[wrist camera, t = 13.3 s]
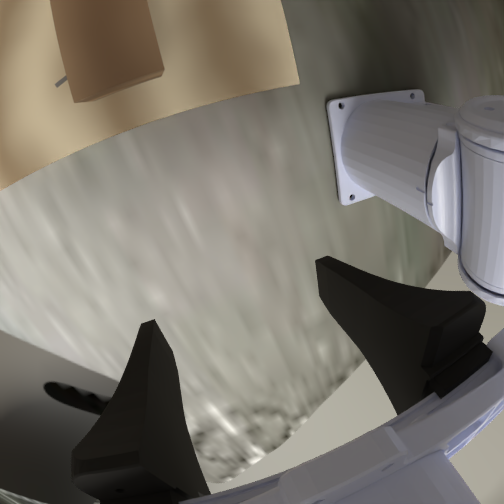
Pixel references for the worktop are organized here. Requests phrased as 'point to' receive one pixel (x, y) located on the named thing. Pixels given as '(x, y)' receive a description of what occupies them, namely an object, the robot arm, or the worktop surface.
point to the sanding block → (106, 45)
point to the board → (139, 96)
